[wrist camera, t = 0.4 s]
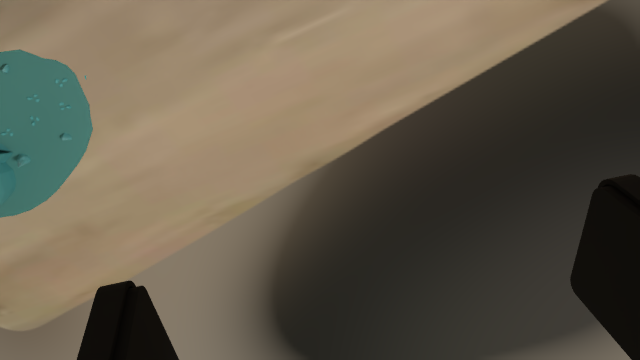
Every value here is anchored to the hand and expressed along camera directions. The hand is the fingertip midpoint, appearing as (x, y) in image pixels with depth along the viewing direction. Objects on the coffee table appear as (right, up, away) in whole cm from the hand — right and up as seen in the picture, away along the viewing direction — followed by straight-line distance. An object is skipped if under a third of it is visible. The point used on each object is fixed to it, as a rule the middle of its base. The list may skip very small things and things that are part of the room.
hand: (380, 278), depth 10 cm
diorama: (-27, +5, +28) cm, 39 cm away
